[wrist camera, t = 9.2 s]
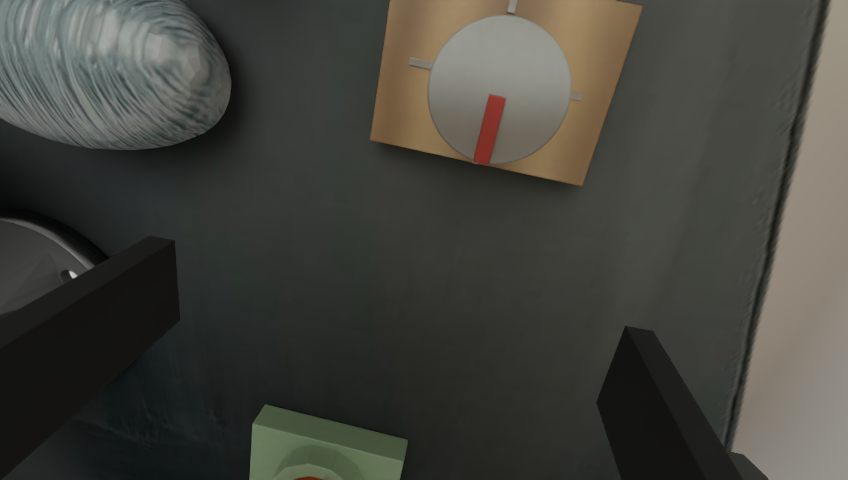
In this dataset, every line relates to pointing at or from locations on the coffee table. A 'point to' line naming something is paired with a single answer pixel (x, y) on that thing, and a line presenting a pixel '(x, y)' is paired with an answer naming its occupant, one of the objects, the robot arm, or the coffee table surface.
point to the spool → (110, 72)
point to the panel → (540, 3)
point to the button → (309, 478)
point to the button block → (320, 449)
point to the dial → (499, 89)
